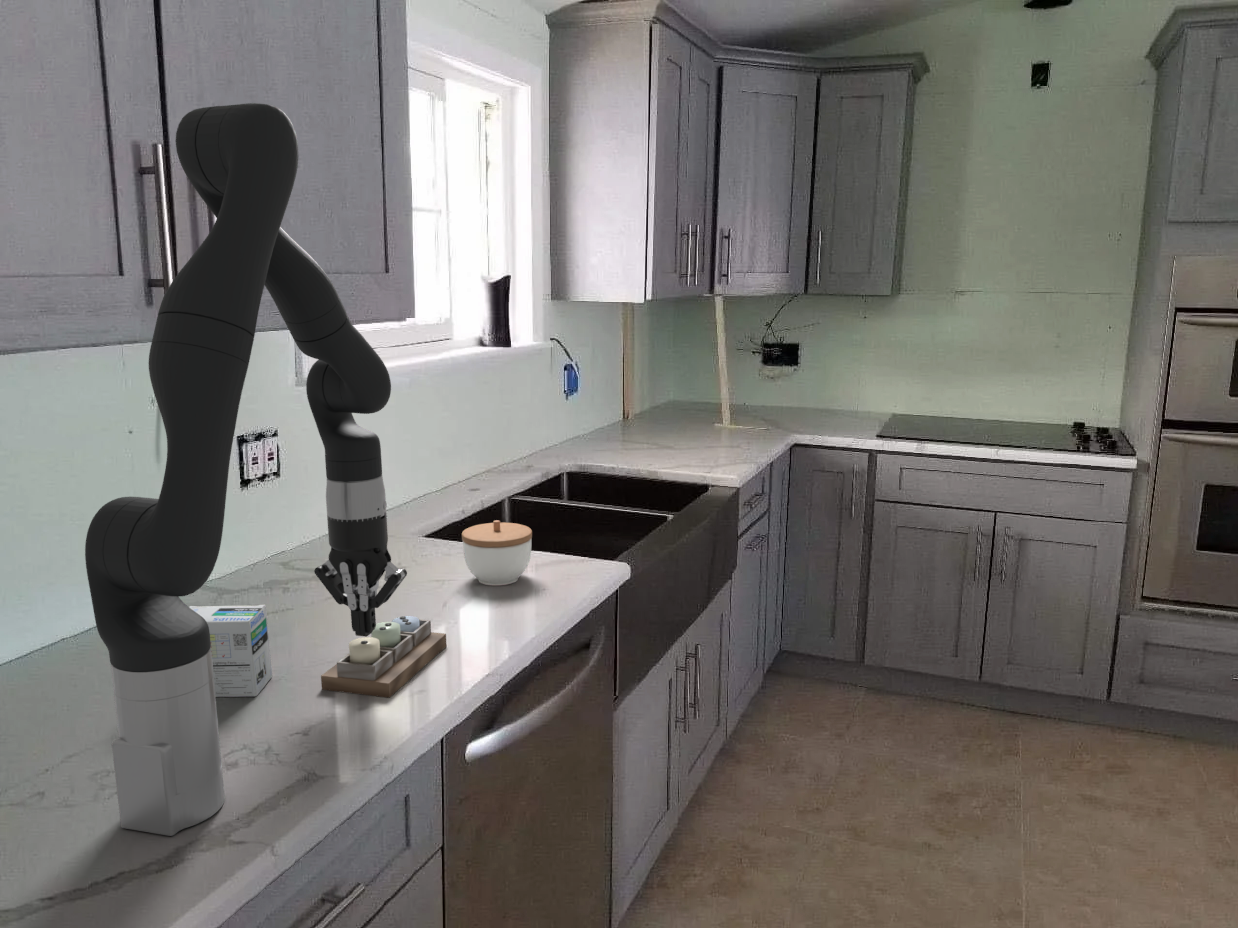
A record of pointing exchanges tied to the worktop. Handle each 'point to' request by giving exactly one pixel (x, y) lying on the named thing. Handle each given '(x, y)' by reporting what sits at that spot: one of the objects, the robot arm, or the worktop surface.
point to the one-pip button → (364, 650)
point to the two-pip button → (387, 634)
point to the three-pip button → (407, 623)
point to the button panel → (387, 665)
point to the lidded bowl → (497, 551)
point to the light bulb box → (238, 648)
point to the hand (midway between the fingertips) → (364, 634)
